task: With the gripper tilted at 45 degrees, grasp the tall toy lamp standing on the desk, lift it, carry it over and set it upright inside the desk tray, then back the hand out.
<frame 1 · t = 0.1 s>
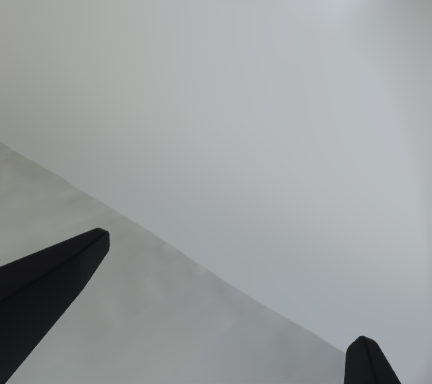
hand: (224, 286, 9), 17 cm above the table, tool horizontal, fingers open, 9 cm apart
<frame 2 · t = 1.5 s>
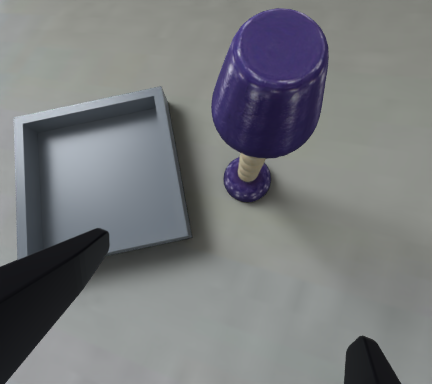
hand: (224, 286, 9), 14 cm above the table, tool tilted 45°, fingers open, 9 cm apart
desk tray: (107, 180, 25), on the table
toy lamp: (246, 183, 24), on the table
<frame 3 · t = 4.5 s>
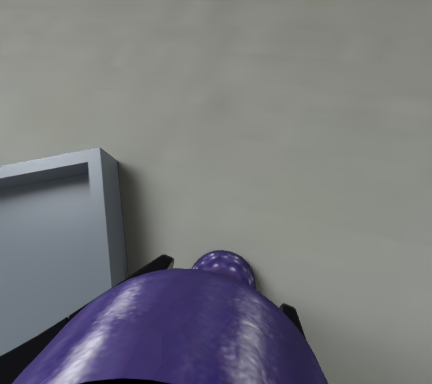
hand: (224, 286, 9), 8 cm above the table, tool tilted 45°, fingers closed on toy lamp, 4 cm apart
desk tray: (25, 275, 18), on the table
toy lamp: (220, 289, 17), on the table, touching gripper
when the fingers open (10 cm above the table, at t = 7.9 s): toy lamp stays where it is, resting on desk tray.
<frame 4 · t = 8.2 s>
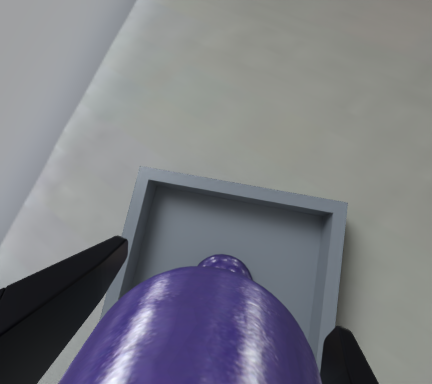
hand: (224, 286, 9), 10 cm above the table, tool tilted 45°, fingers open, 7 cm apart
desk tray: (221, 286, 18), on the table
toy lamp: (220, 291, 18), resting on desk tray
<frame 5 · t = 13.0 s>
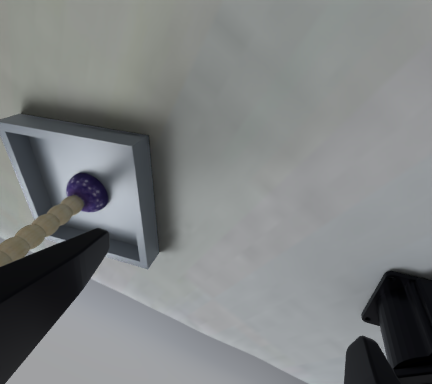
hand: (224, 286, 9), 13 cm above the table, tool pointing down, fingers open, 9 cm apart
desk tray: (94, 188, 28), on the table
toy lamp: (94, 191, 27), resting on desk tray
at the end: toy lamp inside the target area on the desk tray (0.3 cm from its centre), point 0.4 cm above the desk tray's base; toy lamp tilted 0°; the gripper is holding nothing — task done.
